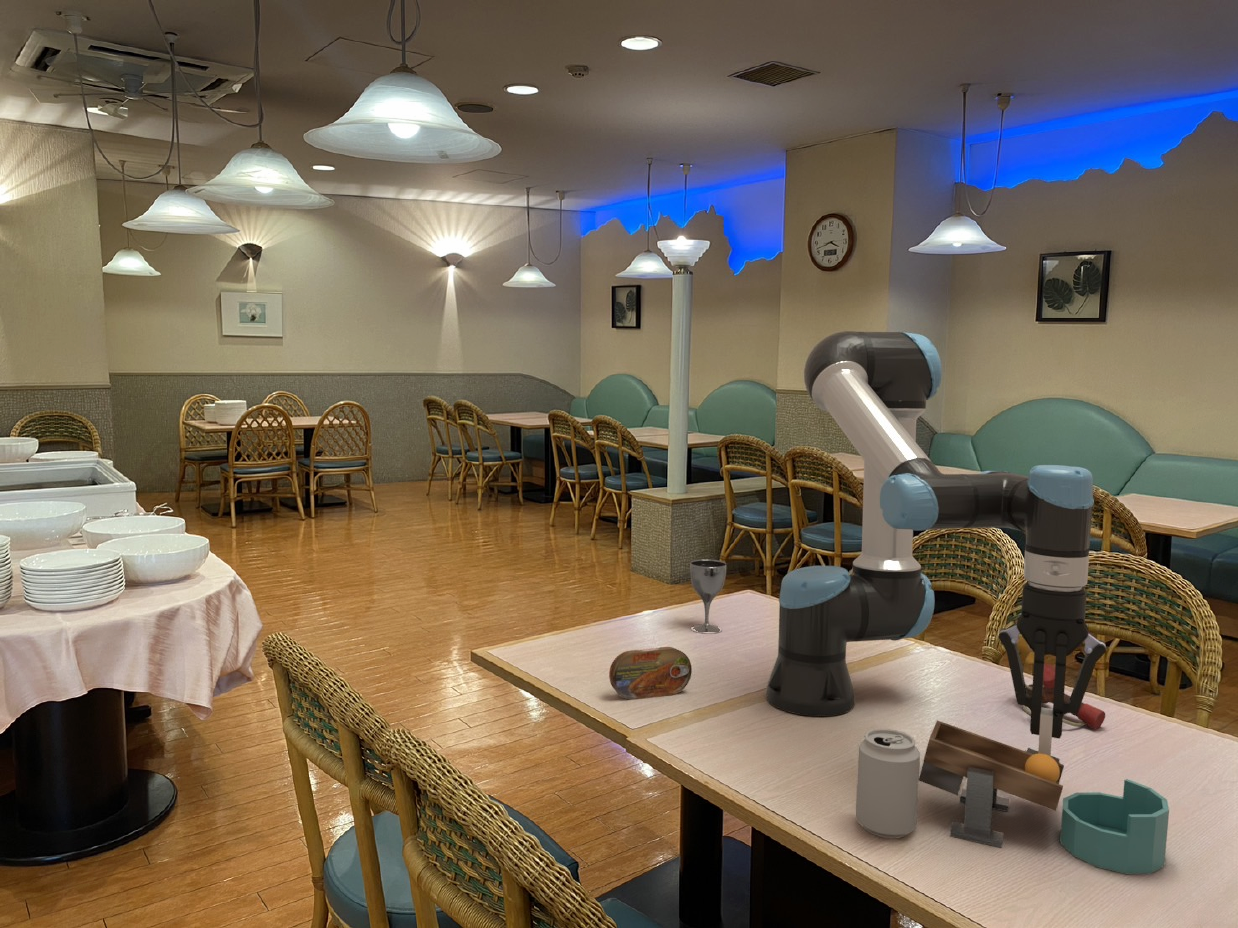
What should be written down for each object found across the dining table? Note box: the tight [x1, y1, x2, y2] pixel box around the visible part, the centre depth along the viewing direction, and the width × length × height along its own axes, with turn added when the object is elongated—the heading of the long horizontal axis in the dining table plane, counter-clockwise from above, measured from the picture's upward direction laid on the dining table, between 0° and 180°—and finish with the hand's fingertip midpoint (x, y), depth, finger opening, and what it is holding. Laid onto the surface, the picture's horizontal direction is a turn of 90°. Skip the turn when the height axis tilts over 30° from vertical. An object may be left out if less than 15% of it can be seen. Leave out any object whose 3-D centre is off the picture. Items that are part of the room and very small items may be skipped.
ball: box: [1025, 753, 1060, 783], centre depth 115 cm, size 4×4×4 cm
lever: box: [919, 720, 1065, 812], centre depth 121 cm, size 16×13×6 cm
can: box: [855, 728, 921, 839], centre depth 116 cm, size 8×8×12 cm
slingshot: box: [1017, 636, 1106, 730], centre depth 156 cm, size 17×10×15 cm
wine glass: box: [689, 558, 727, 633], centre depth 202 cm, size 8×8×15 cm
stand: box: [949, 767, 1010, 849], centre depth 119 cm, size 6×13×8 cm, turn 153°
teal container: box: [1059, 778, 1170, 875], centre depth 112 cm, size 11×11×7 cm
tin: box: [608, 646, 693, 701], centre depth 162 cm, size 15×3×8 cm, turn 109°
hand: (1044, 758), depth 121 cm, fingers closed
